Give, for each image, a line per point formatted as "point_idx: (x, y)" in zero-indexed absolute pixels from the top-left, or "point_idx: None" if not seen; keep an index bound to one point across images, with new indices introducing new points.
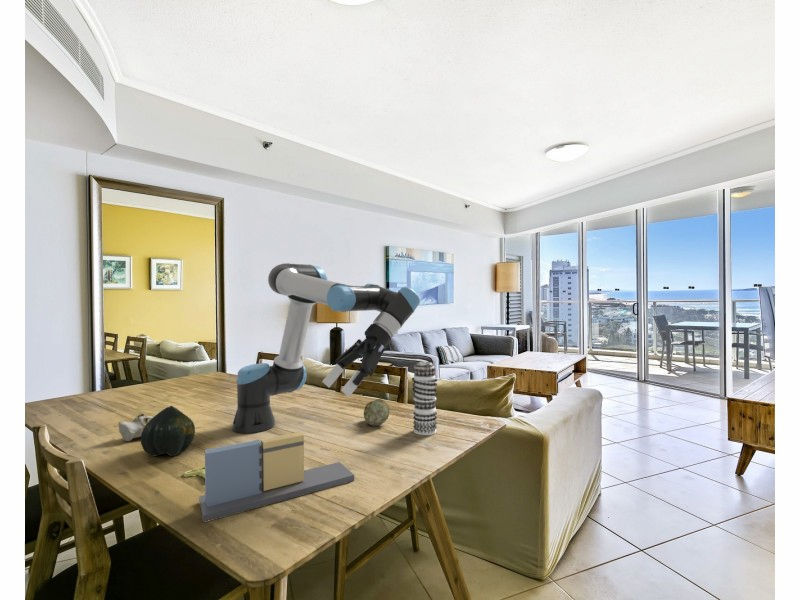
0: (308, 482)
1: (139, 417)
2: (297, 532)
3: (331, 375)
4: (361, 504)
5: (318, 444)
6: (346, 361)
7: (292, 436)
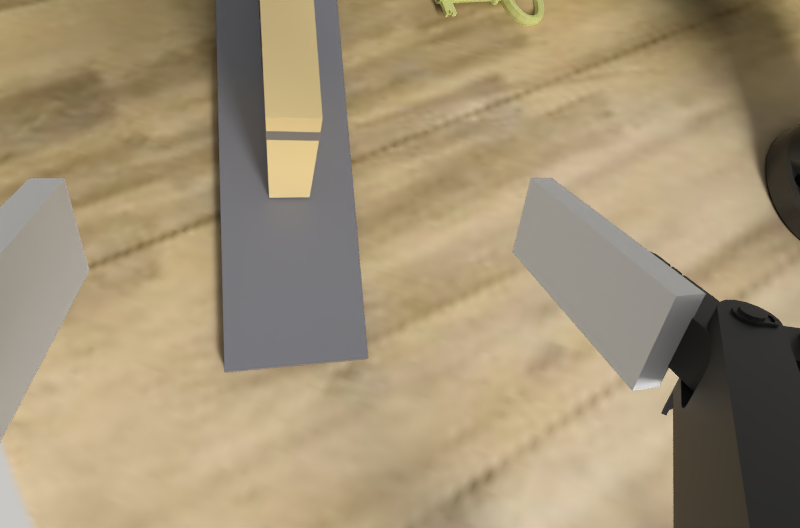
0: (255, 209)
1: None
2: (7, 115)
3: (573, 244)
4: None
5: None
6: (699, 426)
7: (274, 72)
